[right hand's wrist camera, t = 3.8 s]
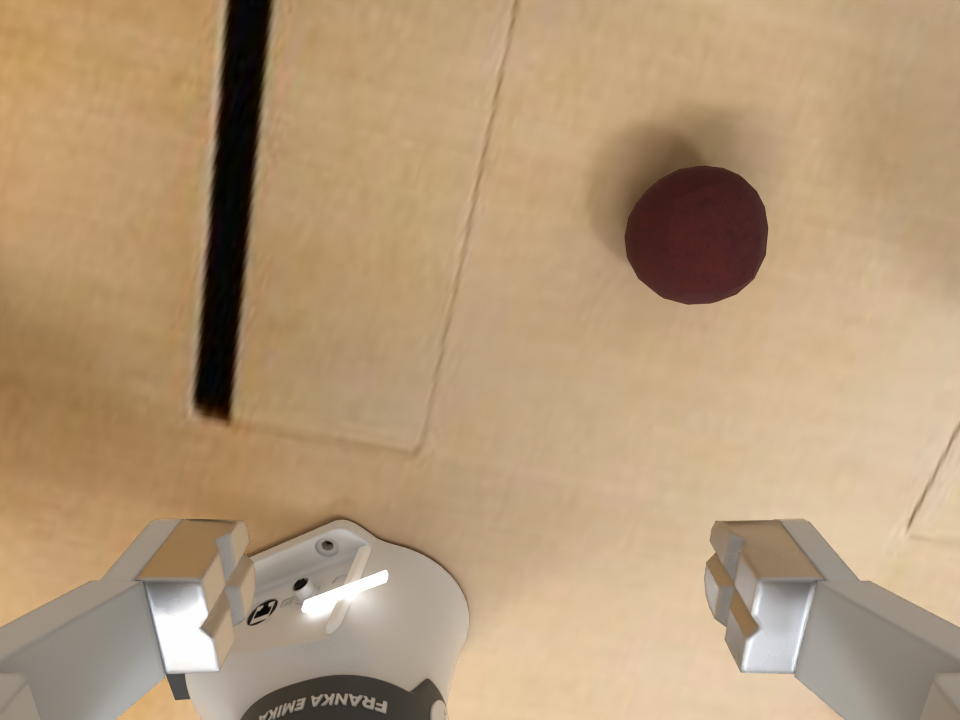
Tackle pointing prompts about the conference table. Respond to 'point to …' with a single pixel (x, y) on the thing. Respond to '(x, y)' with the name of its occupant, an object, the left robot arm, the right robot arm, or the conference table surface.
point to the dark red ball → (697, 235)
